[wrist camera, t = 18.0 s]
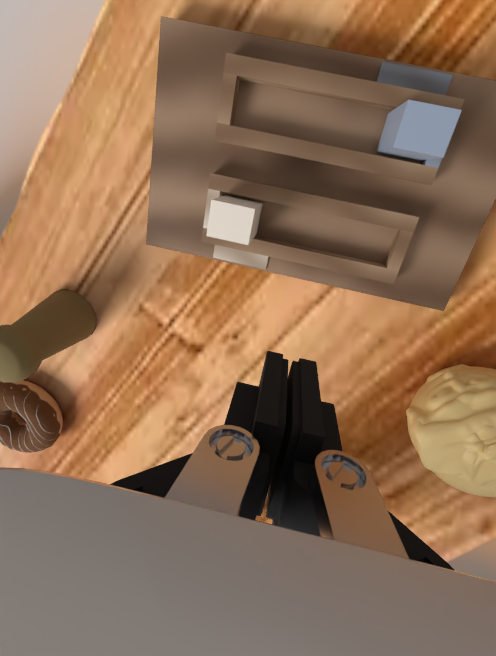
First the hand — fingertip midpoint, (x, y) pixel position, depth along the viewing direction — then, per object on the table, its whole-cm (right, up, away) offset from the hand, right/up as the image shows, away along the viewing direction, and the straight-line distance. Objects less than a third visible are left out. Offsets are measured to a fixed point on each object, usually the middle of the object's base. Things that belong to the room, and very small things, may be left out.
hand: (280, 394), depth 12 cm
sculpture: (+21, -5, +26) cm, 33 cm away
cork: (-21, +4, +28) cm, 35 cm away
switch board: (+5, +15, +19) cm, 25 cm away
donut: (-30, -8, +35) cm, 46 cm away
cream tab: (-2, +12, +19) cm, 22 cm away
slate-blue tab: (+11, +17, +15) cm, 25 cm away
